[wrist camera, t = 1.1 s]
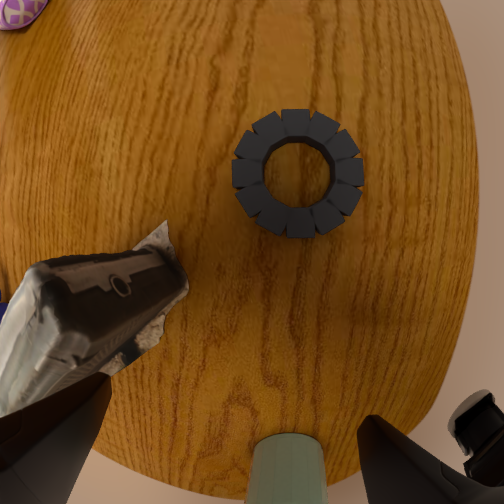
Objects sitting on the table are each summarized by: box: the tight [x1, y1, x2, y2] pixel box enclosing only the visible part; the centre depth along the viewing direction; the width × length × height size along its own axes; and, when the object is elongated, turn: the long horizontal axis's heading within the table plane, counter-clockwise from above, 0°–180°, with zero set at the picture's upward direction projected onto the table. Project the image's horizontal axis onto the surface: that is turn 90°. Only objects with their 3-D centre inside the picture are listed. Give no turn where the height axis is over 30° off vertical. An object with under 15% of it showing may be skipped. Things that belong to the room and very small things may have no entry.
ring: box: [232, 109, 364, 238], centre depth 18 cm, size 9×9×2 cm
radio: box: [0, 220, 189, 418], centre depth 16 cm, size 23×9×15 cm, turn 125°
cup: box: [244, 433, 328, 504], centre depth 19 cm, size 7×7×9 cm
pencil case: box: [0, 0, 48, 30], centre depth 14 cm, size 22×9×9 cm, turn 59°
